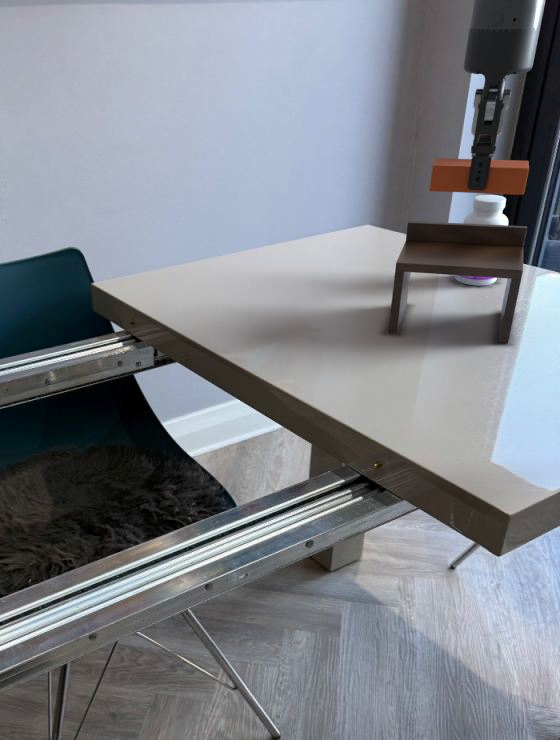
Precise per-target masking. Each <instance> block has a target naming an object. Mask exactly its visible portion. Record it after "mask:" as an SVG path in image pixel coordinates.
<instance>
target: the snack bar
mask: <svg viewBox="0 0 560 740" xmlns="http://www.w3.org/2000/svg"><path fill="white" fill-rule="evenodd" d="M471 161H472V158H445V157H442V158H440V157H436V158H435V159H434V162H433V164H432V169H431V175H430V183H429V192H441V193H442V192H443V193H465V194H467V193H469V194H488V195H516V196H518V195H519V196H523V195H524V194H525V190H526V186H527V180H528V177H529V170H530V164H529V163H530V162H529V160H519V159H518V160H517V159H516V160H513V159H491V164H490V170H489V176H488V181H487V187H486V189H484V190H469V189H468V187H467V185H468V179H469V173H470V167H471Z"/></svg>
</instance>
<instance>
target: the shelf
mask: <svg viewBox="0 0 560 740" xmlns="http://www.w3.org/2000/svg"><path fill="white" fill-rule="evenodd" d="M527 231H528V226H527V225H509V224H508V225H486V224H464V222H463V223H462V222H458V223H456V222H439V221H419V220H418V221H417V220H408V222H407V227H406V234H405V242H404V244H403V246H402V248H401V251H400V253H399V255H398V258H397V260H396V262H395V269H394V277H393V286H392V294H391V304H390V313H389V320H388V330H387V333H388V334H395V335H397V333H398V331H399V328H400V325H401V322H402V319H403V316H404V314H405V311H406V307H407V304H408V296H409V289H410V281H411V273H414V274H415V273H417V274H432V275H448V276H455V275H461V276H476V277H492V278H497V279H506V284H505V289H504V294H503V298H502V299H503V300H502V304H501V309H500V317H499V318H500V319H499V333H498V343H499V344H509V341H510V337H511V336H510V335H511V331H512V328H513V327H512V326H513V322H514V316H515V312H516V307H517V303H518V297H519V292H520V288H521V282H522V278H523V272H524V245H525V240H526V236H527Z"/></svg>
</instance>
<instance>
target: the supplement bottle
mask: <svg viewBox="0 0 560 740" xmlns="http://www.w3.org/2000/svg"><path fill="white" fill-rule="evenodd" d="M506 202H507V198H506V197H504V196H502V195H499V194H480V195H476V196H474V198H473V204H472V206H473V212H470V213H469V214H467V215H466V216H465V217H464V220H463V223H464V224H486V225H508V226H509V218H508V217H507V216H506V215H505V214H503V210H504V209H505V208H506ZM454 278H455V280H456V281H457V282H458V283H462V284H465V285H469V286H479V287H480V286H488V285H492V284H494V283H495V282H496V281H497V279H498V278H492V277H476V276H461V275H454Z"/></svg>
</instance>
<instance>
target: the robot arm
mask: <svg viewBox="0 0 560 740" xmlns="http://www.w3.org/2000/svg"><path fill="white" fill-rule="evenodd" d="M545 5H546V0H473V2H472V8H471V13H470V14H471V15H470V22H469V27H468V34H467V40H466V46H465V47H466V48H465V55H464V59H463V60H464V61H463V70H464V71H465V72H466V73H468V74H473V75H482V76H484V82H483V83H484V84H483V88H476V89H475V93H474V98H473V103H472V104H473V105H472V108H473V110H474V112H473V118H472V122H471V129H470V130H471V131H470V133H471V135H472V136H474V137H473V141H472V145H471V146H470V154H471V157H470V158H471V159H472V161H471V167H470V173H469V179H468V185H467V187H468V189H469V190H484V189H486V187H487V181H488V176H489V170H490V164H491V160H493V159H492V158H494V155H495V154H496V149H497V146H496V144H497V138H498V137H499V136H500V135H501V134H502V133H503V127H504V121H505V116H506V111H507V110H508V109H509V107H510V101H511V97H512V88H506V81H507V78H508V77H509V76H510V75H520V74H526V73H528V72H531V70H532V69H533V65H534V61H535V55H536V51H537V48H538V47H537V46H538V40H539V36H540V31H541V25H542V21H543V16H544V9H545Z"/></svg>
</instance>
